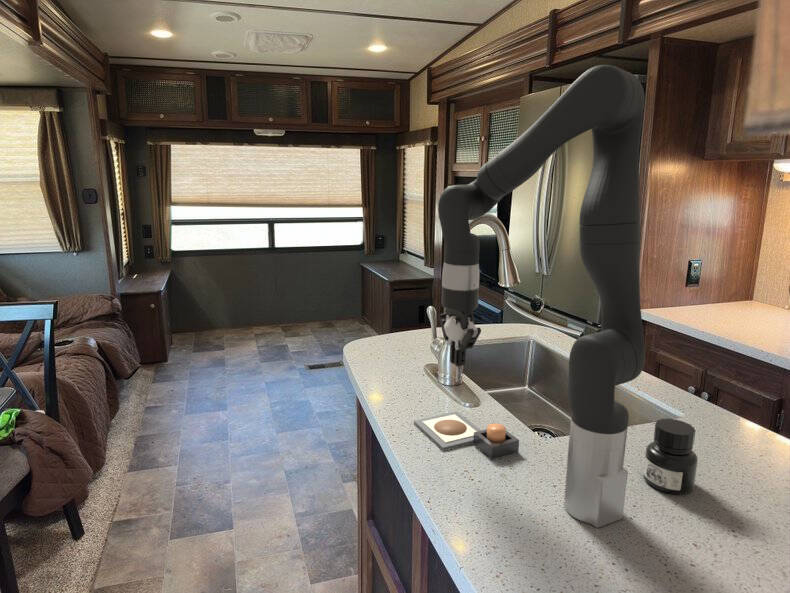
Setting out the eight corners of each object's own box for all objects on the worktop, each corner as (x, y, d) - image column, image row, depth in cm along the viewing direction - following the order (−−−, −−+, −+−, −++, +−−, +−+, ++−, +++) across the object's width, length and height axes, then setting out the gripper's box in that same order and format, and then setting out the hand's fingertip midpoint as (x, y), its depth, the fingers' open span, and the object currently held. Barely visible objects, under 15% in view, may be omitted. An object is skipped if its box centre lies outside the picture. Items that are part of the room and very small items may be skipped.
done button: (508, 442, 116) (509, 429, 115) (493, 446, 114) (494, 433, 113) (498, 434, 119) (498, 422, 119) (483, 438, 118) (483, 425, 117)
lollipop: (448, 388, 111) (450, 319, 107) (438, 377, 116) (440, 311, 112) (475, 385, 112) (479, 317, 109) (464, 375, 118) (467, 309, 114)
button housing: (518, 452, 116) (519, 440, 115) (491, 459, 113) (492, 446, 112) (499, 438, 122) (499, 426, 121) (473, 444, 119) (473, 432, 118)
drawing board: (488, 439, 121) (489, 435, 121) (442, 450, 116) (442, 446, 116) (456, 414, 134) (456, 410, 133) (413, 423, 129) (413, 419, 128)
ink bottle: (631, 474, 107) (637, 419, 105) (664, 465, 111) (671, 412, 108) (671, 501, 99) (679, 442, 96) (706, 491, 102) (714, 434, 99)
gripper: (495, 289, 105) (490, 372, 109) (458, 276, 116) (455, 351, 121) (462, 293, 101) (459, 378, 106) (428, 279, 113) (426, 356, 118)
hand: (457, 363), depth 113 cm, fingers closed on lollipop, 1 cm apart
